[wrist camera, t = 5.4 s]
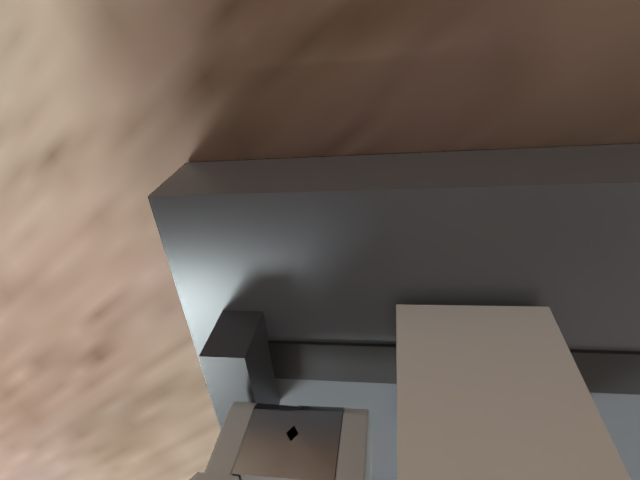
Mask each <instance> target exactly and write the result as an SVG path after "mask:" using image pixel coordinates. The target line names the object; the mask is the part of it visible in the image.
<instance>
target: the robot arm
mask: <svg viewBox="0 0 640 480" xmlns="http://www.w3.org/2000/svg"><path fill="white" fill-rule="evenodd" d="M371 478H372V443H371V423H370V410H369V409H352V408H344V407H321V406H288V405H276V404H264V403H251V402H236V401H235V402H234V403H233V405H232V406H231V407H230V409H229V411H228V414H227V416H226V419H225V421H224V424H223V427H222V429H221V432H220V434H219V437H218V439H217V442H216V444H215V447H214V450H213V452H212V455H211V457H210V460H209V462H208V465H207V468H206V470H205V473H202V472H197V473H196V474H195V475H194V476H193V477H192V478H191V479H190V480H371Z"/></svg>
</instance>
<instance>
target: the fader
mask: <svg viewBox="0 0 640 480" xmlns="http://www.w3.org/2000/svg"><path fill="white" fill-rule="evenodd" d="M396 358H397V480H631V479H630V477H629V474H628V472H627V470H626V468H625V466H624V464H623V462H622V460H621V458H620V456H619V453H618V451H617V449H616V447H615V445H614V443H613V441H612V439H611V437H610V434H609V432H608V430H607V428H606V426H605V424H604V422H603V420H602V418H601V415H600V413H599V411H598V409H597V407H596V405H595V403H594V401H593V399H592V396H591V394H590V392H589V390H588V388H587V386H586V384H585V382H584V380H583V377H582V375H581V373H580V371H579V369H578V367H577V365H576V363H575V361H574V358H573V356H572V354H571V352H570V350H569V348H568V346H567V344H566V342H565V340H564V337H563V335H562V333H561V331H560V329H559V327H558V325H557V323H556V321H555V318H554V316H553V314H552V312H551V310H550V308H549V307H540V306H472V305H404V304H396Z"/></svg>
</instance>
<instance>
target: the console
mask: <svg viewBox="0 0 640 480" xmlns="http://www.w3.org/2000/svg"><path fill="white" fill-rule="evenodd" d="M148 199H149V202H150V205H151V208H152V212H153V215H154V218H155V221H156V224H157V228H158V231H159V234H160V237H161V240H162V244H163V247H164V250H165V253H166V256H167V260H168V263H169V266H170V269H171V272H172V276H173V279H174V282H175V285H176V288H177V292H178V295H179V298H180V301H181V304H182V308H183V311H184V314H185V317H186V320H187V324H188V327H189V330H190V333H191V336H192V340H193V343H194V346H195V349H196V352H197V356H198V359H199V362H200V365H201V368H202V372H203V375H204V378H205V381H206V384H207V388H208V391H209V394H210V397H211V400H212V404H213V407H214V410H215V413H216V416H217V420H218V423H219V426H220V429H222V427H223V424H224V421H225V419H226V416H227V414H228V411H229V409H230V407H231V406H232V405H233V403H234V402H235V401H236V402H251V403H264V404H276V405H288V406H321V407H344V408H352V409H369V410H370V423H371V443H372V478H371V480H397V358H396V304H404V305H472V306H540V307H549V308H550V310H551V312H552V314H553V316H554V318H555V321H556V323H557V325H558V327H559V329H560V331H561V333H562V335H563V337H564V340H565V342H566V344H567V346H568V348H569V350H570V352H571V354H572V356H573V358H574V361H575V363H576V365H577V367H578V369H579V371H580V373H581V375H582V377H583V380H584V382H585V384H586V386H587V388H588V390H589V392H590V394H591V396H592V399H593V401H594V403H595V405H596V407H597V409H598V411H599V413H600V415H601V418H602V420H603V422H604V424H605V426H606V428H607V430H608V432H609V434H610V437H611V439H612V441H613V443H614V445H615V447H616V449H617V451H618V453H619V456H620V458H621V460H622V462H623V464H624V466H625V468H626V470H627V472H628V474H629V477H630V479H631V480H640V143H637V144H613V145H590V146H566V147H542V148H519V149H495V150H472V151H448V152H424V153H401V154H377V155H353V156H330V157H306V158H282V159H259V160H235V161H212V162H188V163H185V164H184V165H183V166H182V167H181V168H179V169H178V170H177V171H176V172H175V173H174V174H173V175H172V176H170V177H169V178H168V179H167V180H166V181H165V182H164V183H162V184H161V185H160V186H159V187H158V188H157V189H156V190H155V191H153V192H152V193H151V194H150V195H149V196H148Z"/></svg>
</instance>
